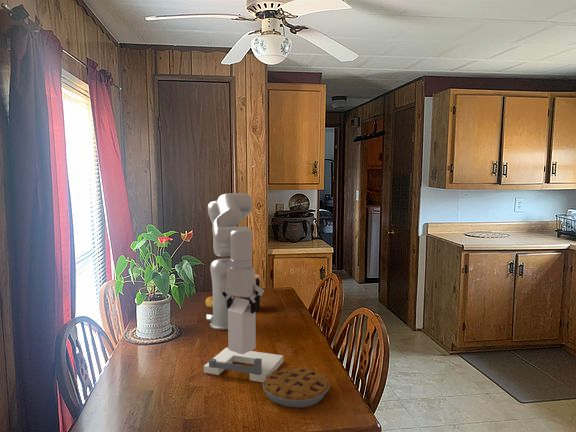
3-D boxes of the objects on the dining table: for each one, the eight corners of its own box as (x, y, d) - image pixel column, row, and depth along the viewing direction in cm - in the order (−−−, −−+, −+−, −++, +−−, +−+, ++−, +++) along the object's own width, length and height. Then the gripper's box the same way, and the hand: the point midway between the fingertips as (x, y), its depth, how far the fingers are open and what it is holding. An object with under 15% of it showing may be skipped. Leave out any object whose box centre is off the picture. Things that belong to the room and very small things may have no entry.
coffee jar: (236, 311, 232) (235, 277, 230) (244, 305, 242) (243, 273, 241) (255, 313, 229) (255, 279, 227) (262, 307, 239) (262, 274, 237)
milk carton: (242, 355, 159) (242, 302, 158) (228, 350, 164) (227, 299, 162) (255, 348, 165) (255, 298, 163) (241, 344, 169) (241, 294, 167)
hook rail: (208, 367, 161) (208, 353, 161) (211, 364, 163) (211, 351, 163) (259, 375, 155) (259, 361, 155) (261, 372, 157) (261, 358, 156)
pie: (314, 417, 134) (315, 401, 133) (250, 401, 143) (250, 386, 142) (338, 385, 153) (338, 371, 153) (280, 373, 163) (280, 360, 162)
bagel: (208, 310, 236) (208, 301, 235) (203, 304, 246) (203, 295, 245) (226, 308, 239) (226, 299, 239) (221, 302, 250) (221, 294, 249)
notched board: (203, 372, 163) (203, 365, 162) (226, 353, 179) (226, 347, 179) (265, 382, 155) (265, 375, 155) (283, 361, 172) (283, 355, 172)
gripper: (214, 264, 160) (215, 311, 162) (259, 267, 155) (260, 316, 157) (224, 260, 168) (224, 306, 169) (267, 263, 162) (267, 310, 164)
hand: (241, 311), depth 163 cm, fingers closed on milk carton, 8 cm apart
